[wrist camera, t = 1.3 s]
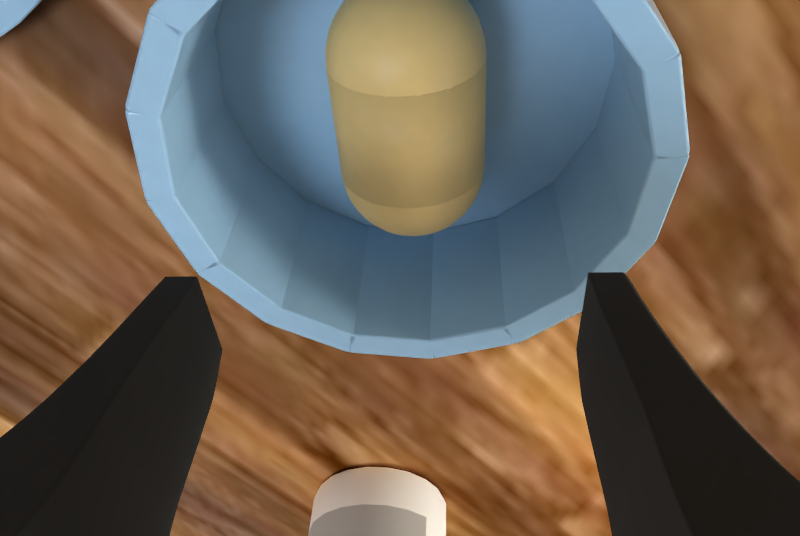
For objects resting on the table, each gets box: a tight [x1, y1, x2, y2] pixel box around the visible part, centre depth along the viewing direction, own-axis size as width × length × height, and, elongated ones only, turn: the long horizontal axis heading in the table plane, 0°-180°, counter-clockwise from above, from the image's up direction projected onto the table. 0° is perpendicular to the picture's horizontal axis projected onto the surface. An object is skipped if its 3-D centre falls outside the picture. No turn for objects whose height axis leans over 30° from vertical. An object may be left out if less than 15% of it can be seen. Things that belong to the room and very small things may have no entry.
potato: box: [325, 0, 487, 236], centre depth 19 cm, size 7×4×4 cm, turn 4°
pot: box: [125, 0, 690, 359], centre depth 19 cm, size 13×13×6 cm
